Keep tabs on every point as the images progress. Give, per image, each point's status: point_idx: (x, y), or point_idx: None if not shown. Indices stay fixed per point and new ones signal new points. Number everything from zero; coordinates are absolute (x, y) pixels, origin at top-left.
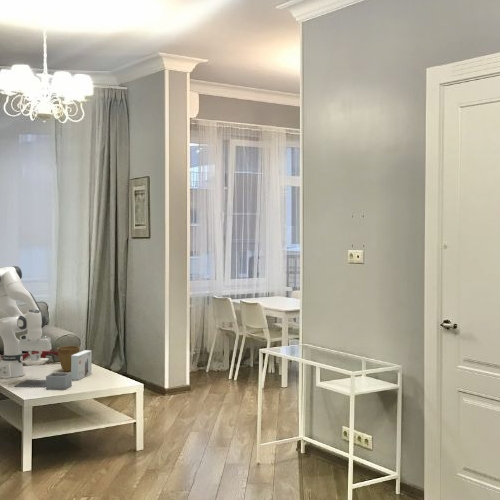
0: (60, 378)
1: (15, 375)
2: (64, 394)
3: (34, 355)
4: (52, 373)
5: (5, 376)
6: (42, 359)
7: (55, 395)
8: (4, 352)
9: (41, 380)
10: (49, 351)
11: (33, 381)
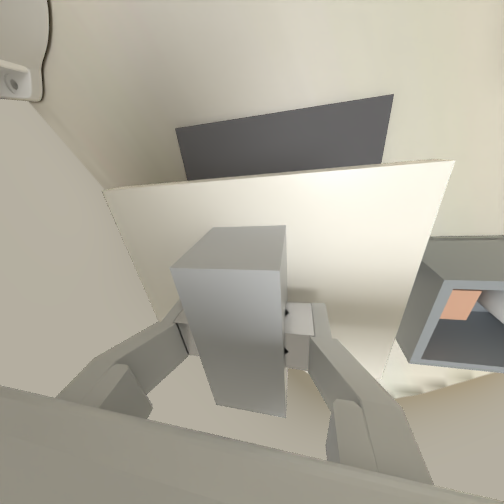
0: None
1: (33, 39)
2: (488, 372)
3: (268, 408)
4: (445, 301)
5: (17, 94)
6: (352, 281)
7: (445, 379)
8: None
9: (276, 131)
10: None
11: (241, 171)
